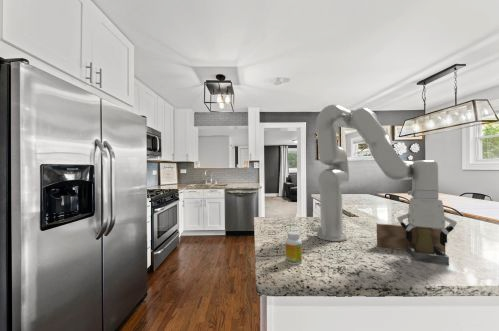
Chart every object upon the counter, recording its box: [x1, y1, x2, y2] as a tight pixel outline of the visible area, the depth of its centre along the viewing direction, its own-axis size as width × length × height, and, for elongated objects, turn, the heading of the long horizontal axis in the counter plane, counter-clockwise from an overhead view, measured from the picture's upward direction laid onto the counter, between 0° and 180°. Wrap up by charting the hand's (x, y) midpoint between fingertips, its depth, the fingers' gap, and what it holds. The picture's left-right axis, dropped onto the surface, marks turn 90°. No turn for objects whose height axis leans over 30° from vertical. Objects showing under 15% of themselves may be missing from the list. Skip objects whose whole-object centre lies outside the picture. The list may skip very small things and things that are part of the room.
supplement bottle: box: [285, 231, 303, 266], centre depth 80 cm, size 5×5×10 cm
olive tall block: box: [415, 227, 435, 255], centre depth 85 cm, size 6×6×11 cm
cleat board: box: [376, 222, 450, 266], centre depth 86 cm, size 22×13×9 cm, turn 66°
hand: (425, 243), depth 84 cm, fingers open, 9 cm apart
